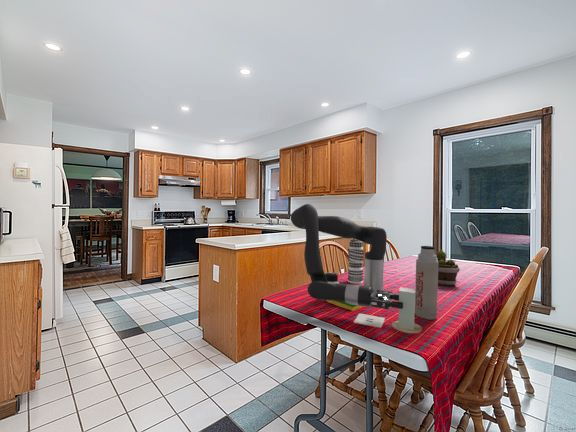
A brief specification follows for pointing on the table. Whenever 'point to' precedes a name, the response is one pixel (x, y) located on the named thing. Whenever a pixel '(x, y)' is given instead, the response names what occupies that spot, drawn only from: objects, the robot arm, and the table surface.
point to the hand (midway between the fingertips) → (403, 301)
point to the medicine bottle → (332, 278)
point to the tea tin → (407, 308)
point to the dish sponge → (345, 305)
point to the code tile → (369, 320)
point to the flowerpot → (446, 270)
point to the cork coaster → (416, 329)
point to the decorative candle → (355, 261)
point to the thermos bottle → (426, 283)
